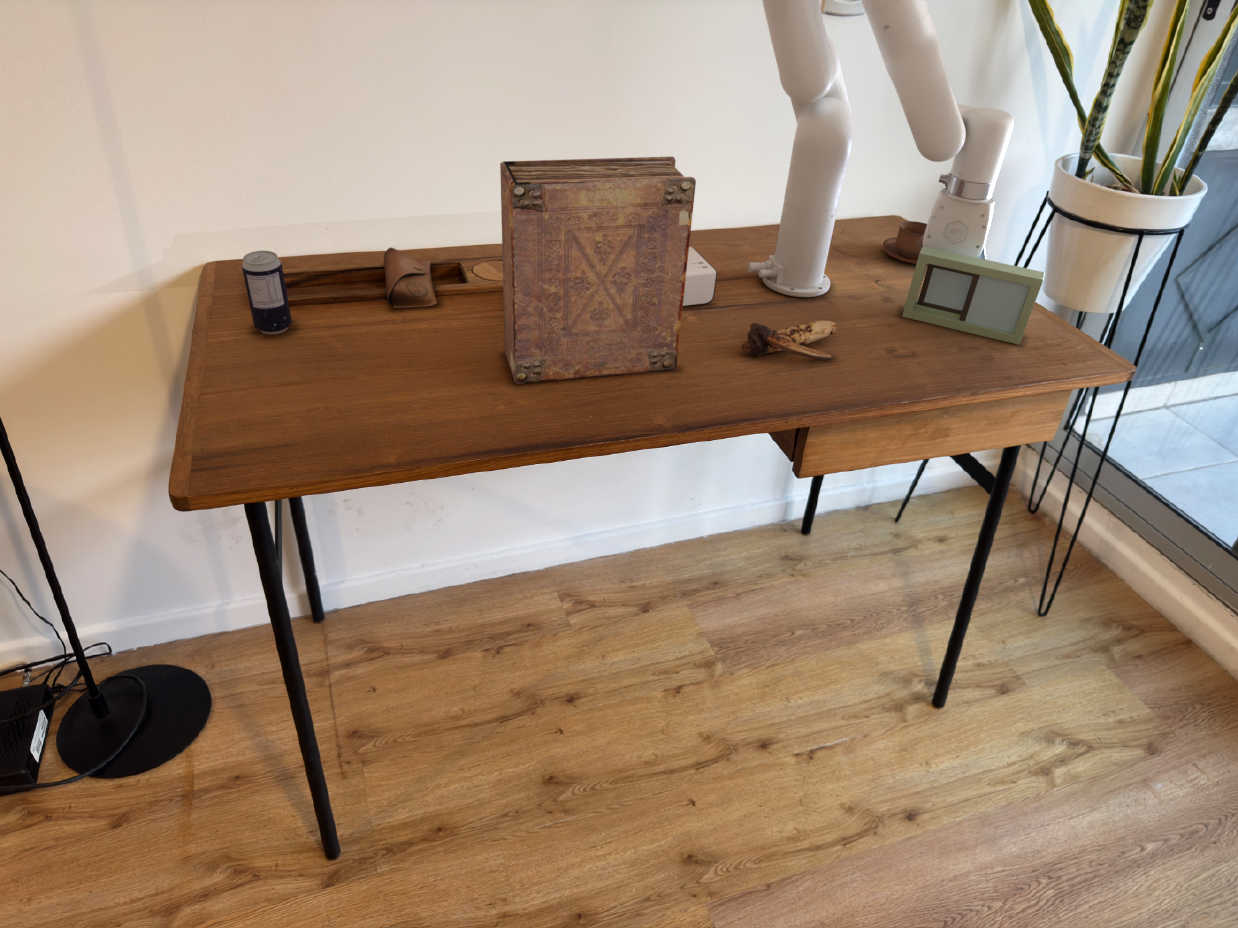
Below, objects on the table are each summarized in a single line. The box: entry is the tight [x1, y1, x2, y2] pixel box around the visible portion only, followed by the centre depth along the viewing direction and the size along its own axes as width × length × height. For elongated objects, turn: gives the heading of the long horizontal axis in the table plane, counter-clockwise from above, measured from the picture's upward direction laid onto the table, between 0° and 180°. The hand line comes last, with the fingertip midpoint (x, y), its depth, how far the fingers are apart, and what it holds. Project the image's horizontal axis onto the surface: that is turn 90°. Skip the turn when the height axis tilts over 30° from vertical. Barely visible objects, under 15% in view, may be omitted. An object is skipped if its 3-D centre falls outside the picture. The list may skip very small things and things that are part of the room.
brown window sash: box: [917, 264, 974, 315], centre depth 156 cm, size 9×7×8 cm
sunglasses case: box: [383, 246, 438, 310], centre depth 154 cm, size 18×7×7 cm, turn 15°
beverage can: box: [241, 250, 293, 335], centre depth 136 cm, size 6×6×12 cm
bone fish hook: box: [741, 319, 838, 361], centre depth 143 cm, size 9×5×18 cm
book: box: [499, 156, 697, 385], centre depth 128 cm, size 25×9×30 cm, turn 106°
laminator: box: [683, 246, 718, 308], centre depth 154 cm, size 34×12×6 cm, turn 109°
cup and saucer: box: [882, 220, 928, 265], centre depth 177 cm, size 12×12×6 cm
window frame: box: [901, 246, 1045, 346], centre depth 152 cm, size 20×4×12 cm, turn 65°
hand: (940, 286), depth 160 cm, fingers closed
